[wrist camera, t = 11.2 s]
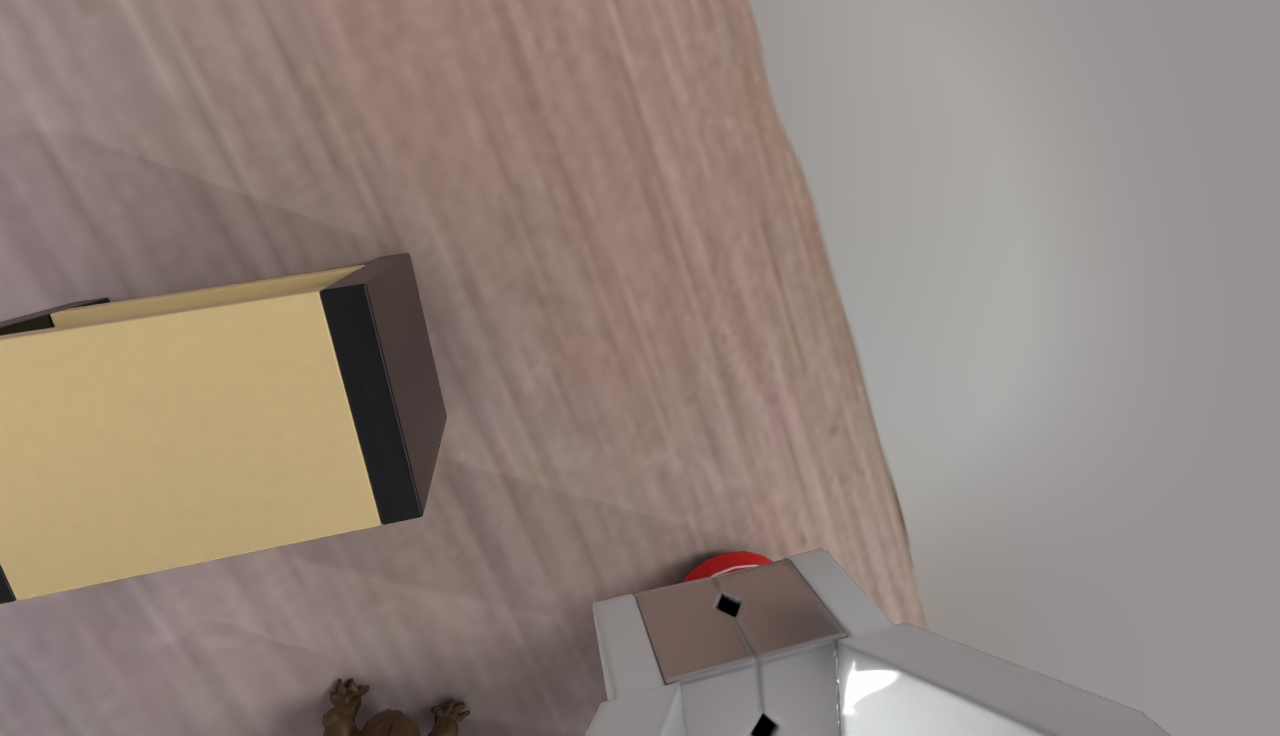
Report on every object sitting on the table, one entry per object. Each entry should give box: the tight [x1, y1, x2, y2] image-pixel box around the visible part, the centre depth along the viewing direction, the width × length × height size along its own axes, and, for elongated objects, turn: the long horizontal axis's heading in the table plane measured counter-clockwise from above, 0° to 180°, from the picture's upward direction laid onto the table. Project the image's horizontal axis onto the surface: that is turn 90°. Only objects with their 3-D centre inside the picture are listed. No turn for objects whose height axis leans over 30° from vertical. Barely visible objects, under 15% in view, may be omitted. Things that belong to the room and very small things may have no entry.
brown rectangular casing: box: [0, 253, 447, 604], centre depth 22 cm, size 7×12×9 cm, turn 98°
